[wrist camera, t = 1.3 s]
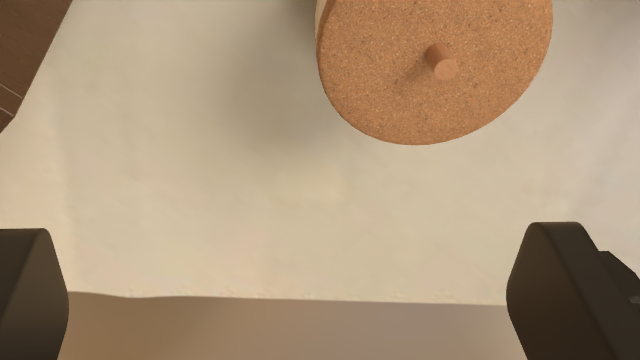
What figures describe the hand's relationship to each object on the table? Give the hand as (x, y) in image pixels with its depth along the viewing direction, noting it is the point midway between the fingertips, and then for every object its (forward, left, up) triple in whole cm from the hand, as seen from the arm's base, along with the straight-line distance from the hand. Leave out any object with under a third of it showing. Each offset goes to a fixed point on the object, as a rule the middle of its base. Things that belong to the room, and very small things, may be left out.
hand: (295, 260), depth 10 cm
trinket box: (+9, +2, -25) cm, 26 cm away
